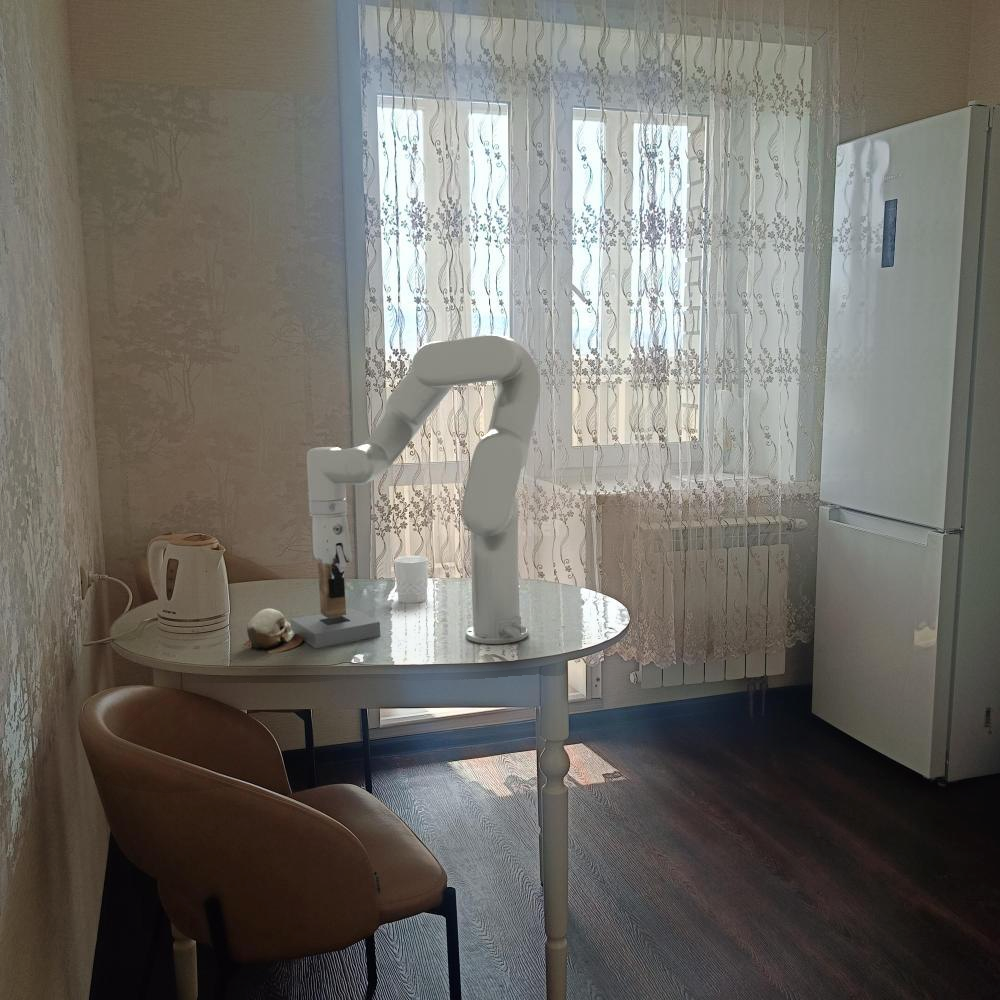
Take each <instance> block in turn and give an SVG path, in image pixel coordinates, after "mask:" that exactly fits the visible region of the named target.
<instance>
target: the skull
mask: <svg viewBox="0 0 1000 1000" xmlns="http://www.w3.org/2000/svg"><path fill="white" fill-rule="evenodd" d="M246 629H247V631H246V632H247V636H248V640H247V641H245V642H244V643H243V644H242V646H243V645H244V646H249V647H250V645H251V646H252V648H254V649H253V650H255V649H256V650H257V651H260V652H261V651H262V652H267V653H269V654H277V653H282V652H285V651H287V650H291V649H294V648H295V647H298V646H299V645H300V644H302V642H304V641H303V637H302V636H300V635H298V634H295V633H294V632H293V631H292V629H291V622H288V621H287V619H286V618H285V616H284V614H283V613H282V612H281V611H279V610H277V609H275V608H264V609H262V610H260V611H258V612H257V613H255V614H254V616H253V617H252V618H251V619H250V620H249V622H248V624H247V628H246Z"/></svg>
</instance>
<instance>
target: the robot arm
mask: <svg viewBox="0 0 1000 1000" xmlns="http://www.w3.org/2000/svg"><path fill="white" fill-rule="evenodd" d="M492 381H496V384H497V391H496V396H495V399H494V403H493V407H492V413H491V416H490V417H491V418H490V421H489V426H488V428H487V432H486V434H485V435H484V436H482V438H481V439H480V440H479V441H478V443H477V444H476V445H475V448H474V451H473V454H472V458H471V462H470V466H469V471H468V475H467V478H466V484H465V488H464V493H463V497H462V502H461V507H460V508H461V511H460V513H461V519H462V521H463V524H464V525H465V528H467V530H469V531H470V567H471V568H470V569H471V570H470V571H471V572H470V574H471V575H470V577H471V595H472V596H471V597H472V599H471V602H472V626H470V627H468V628H467V629H466V631H465V636H466V639H467V640H469V641H471V642H473V643H477V644H484V645H504V644H512V643H516V642H519V641H522V640H524V639H526V638H527V637H528V635H529V630H528V628H527V626H525V625H523V624H522V617H521V616H520V615H521V613H520V609H521V608H520V584H519V583H520V582H519V581H520V579H519V577H520V576H519V502H518V498H517V495H516V494H517V489H518V486H519V480H520V477H521V473H522V469H523V468H524V467H525V466H526V463H527V460H528V457H529V450H530V443H531V441H532V440H531V438H532V434H533V429H534V425H535V420H536V414H537V410H538V407H539V401H540V394H541V377H540V373H539V370H538V367H537V364H536V362H535V360H534V359H533V357H532V355H531V354H530V353H529V352H528V351H527V350H526V349H525V348H524V347H523V346H522V345H521V344H519V343H518V342H517V341H515V340H514V339H512V338H511V337H508V336H505V335H501V334H486V335H484V334H483V335H479V336H473V337H472V336H471V337H464V338H458V339H450V340H444V341H432V342H428V343H425V344H423V345H422V346H420V347H419V348H418V349H417V351H416V352H415V353H414V355H413V358H412V361H411V369H410V370H409V371H408V373H407V374H406V375H405V376H404V378H403V379H402V380H401V381H400V383H399V384H398V385H397V386H396V387H395V388H394V390H393V391H392V392H391V393H390V395H389V396H388V398H387V399H386V402H385V403H386V405H385V410H384V411H385V412H384V414H383V417H382V419H381V421H379V423H378V425H377V426H376V427H375V429H374V430H373V431H372V433H371V434H370V435H369V436H368V438H367V439H366V440H365V441H364V442H363V443H362V444H361V445H357V446H355V447H350V448H344V449H343V448H340V447H337V446H322V447H321V446H319V447H313V448H310V449H309V450H308V451H307V454H306V470H307V486H308V502H309V504H308V505H309V506H308V507H309V517H312V525H311V526H312V528H311V529H312V531H311V532H312V535H311V537H312V553H313V556H314V558H315V559H316V560H317V561H318V558H320V559H321V560H325V563H327V564H328V566H329V574H330V579H328V585H329V597H330V598H338V597H344V595H345V596H346V589H345V590H344V583H345V571H346V569H347V566H348V565H347V563H351V561H352V550H351V547H352V546H351V539H350V538H351V536H350V529H349V524H348V518H347V514H348V508H347V507H348V504H347V503H348V502H347V484H349V485H365V484H367V483H369V482H372V481H373V480H376V479H378V478H380V477H382V476H383V475H384V474H385V473H386V472H387V471H388V470H389V469H390V468H391V467H392V465H393V464H394V463H395V462H396V460H397V459H398V458H399V456H400V455H401V454H402V453H403V452H404V451H405V450H406V447H408V445H409V444H410V442H411V440H413V437H414V436H415V435H416V434H417V433H418V432H419V430H420V428H421V427H422V425H423V424H424V423H425V421H427V418H429V416H430V415H431V414H432V412H433V411H434V410H435V409H436V408H437V407H438V405H439V404H440V403H441V402H442V401H443V399H444V398H445V397H446V396H447V394H448V393H449V392H450V391H451V389H452V388H453V387H454V386H459V385H460V386H461V385H467V384H476V383H482V382H483V383H484V382H485V383H486V382H492ZM334 560H337V562H338V563H333V562H334ZM334 566H337V567H336V568H335V569H334V570H333V567H334Z"/></svg>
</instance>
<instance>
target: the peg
mask: <svg viewBox="0 0 1000 1000" xmlns="http://www.w3.org/2000/svg"><path fill="white" fill-rule="evenodd" d="M333 563H338V562H337V560H334V562H333ZM336 567H337V566H334V567H333V570H334V569H335V568H336ZM317 569H318V570H317V572H318V587H319V588H318V590H319V592H318V593H319V607H320V614H322V615H323V616H325V617H327V618H331V617H337V616H342V615H346V609H347V606H346V594H345V595H344V597H338V598H330V597H329V585H328V579H330V574H329V566H328V564H327V563H325V560H321V559H320V558H318V560H317ZM345 588H346V586H345V582H344V590H345V591H346V589H345Z"/></svg>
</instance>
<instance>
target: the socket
mask: <svg viewBox="0 0 1000 1000" xmlns="http://www.w3.org/2000/svg"><path fill="white" fill-rule="evenodd" d="M380 624H381V623H380V621H379V620H377V619H375V618H373V617H370V616H369V615H367V614H365V613H364V612H361V611H359V610H358V609H356V608H352V607H351V608H346V615H342V616H337V617H331V618H327V617H325V616H323V615H322V614H321V613H318V614H311V615H307V616H300V617H295V618H291V619H290V625H291V630H292V631H293V632H294V633H295V634H298V635H300V636H302V637H303V641H302V642H305V643H307V644H308V645H310V646H311V647H313V648H314V649H319V648H325V647H330V646H335V645H342V644H346V643H351V642H352V643H353V642H357V641H361V639H362V640H365V639H367V638H368V639H372V638H376V637H377V638H378V637H381V625H380Z"/></svg>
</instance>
